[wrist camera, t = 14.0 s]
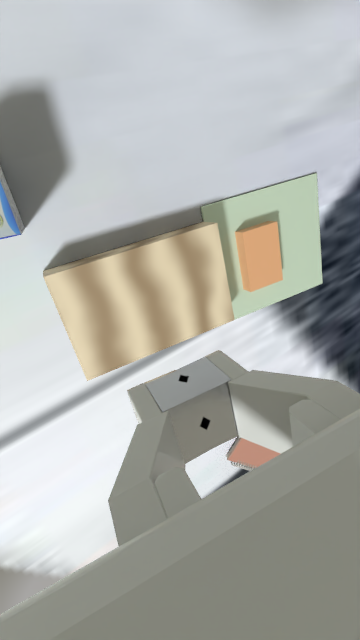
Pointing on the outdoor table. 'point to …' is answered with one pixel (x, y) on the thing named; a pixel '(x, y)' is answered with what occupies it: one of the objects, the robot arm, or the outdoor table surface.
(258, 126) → the outdoor table surface
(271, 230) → the orange rectangular block
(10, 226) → the medicine box
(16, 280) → the outdoor table surface
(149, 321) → the plate
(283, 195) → the mat
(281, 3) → the outdoor table surface
